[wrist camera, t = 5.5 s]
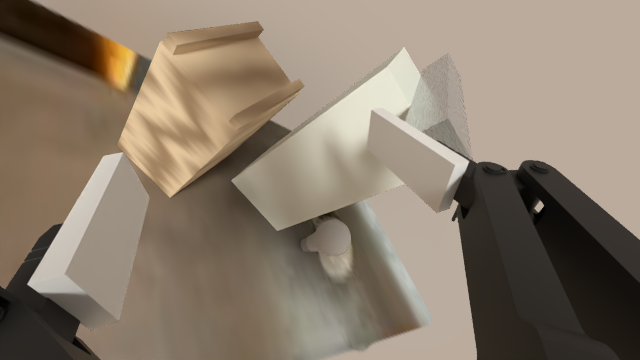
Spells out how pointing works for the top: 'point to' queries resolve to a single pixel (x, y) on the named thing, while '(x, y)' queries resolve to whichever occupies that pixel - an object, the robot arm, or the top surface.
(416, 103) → the rail
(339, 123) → the unit
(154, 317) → the top surface
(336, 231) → the white rounded knobbed part
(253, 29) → the light brown boxy piece
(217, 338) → the top surface
